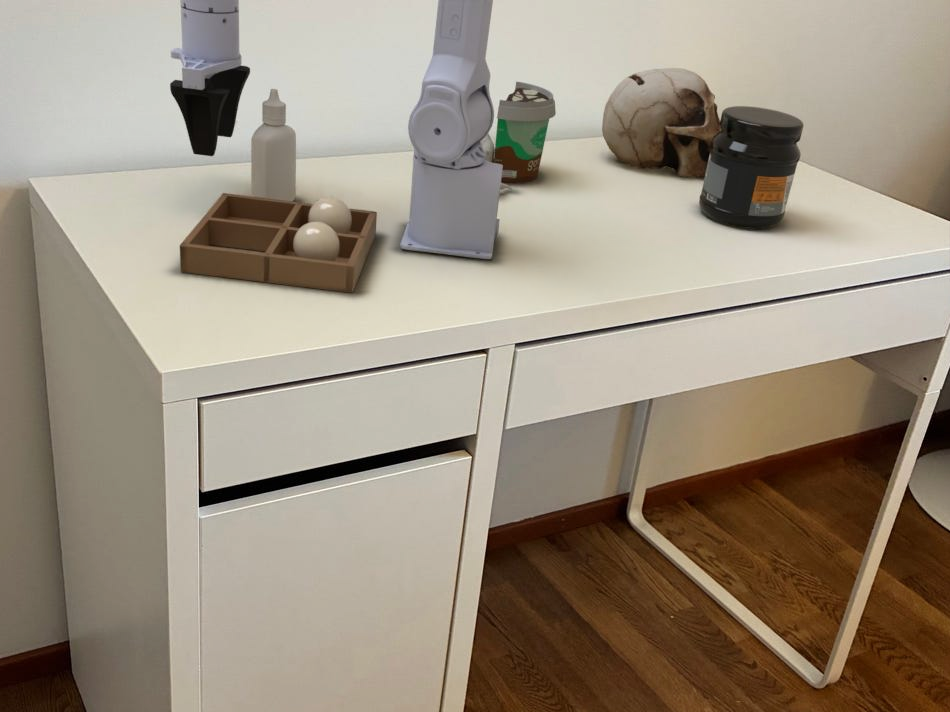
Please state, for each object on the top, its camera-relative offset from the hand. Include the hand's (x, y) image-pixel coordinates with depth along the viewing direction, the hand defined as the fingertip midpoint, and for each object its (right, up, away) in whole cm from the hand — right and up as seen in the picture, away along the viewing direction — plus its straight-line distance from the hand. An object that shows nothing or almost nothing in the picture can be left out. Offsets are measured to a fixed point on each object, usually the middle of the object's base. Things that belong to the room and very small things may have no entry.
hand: (213, 144), depth 119 cm
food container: (+34, +3, +22) cm, 41 cm away
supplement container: (+60, -3, +17) cm, 63 cm away
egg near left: (+13, -10, -7) cm, 18 cm away
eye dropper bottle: (+6, -6, +3) cm, 9 cm away
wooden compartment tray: (+9, -14, -9) cm, 19 cm away
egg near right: (+13, -14, -14) cm, 24 cm away
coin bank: (+55, +8, +34) cm, 65 cm away
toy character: (+27, +4, +15) cm, 31 cm away
